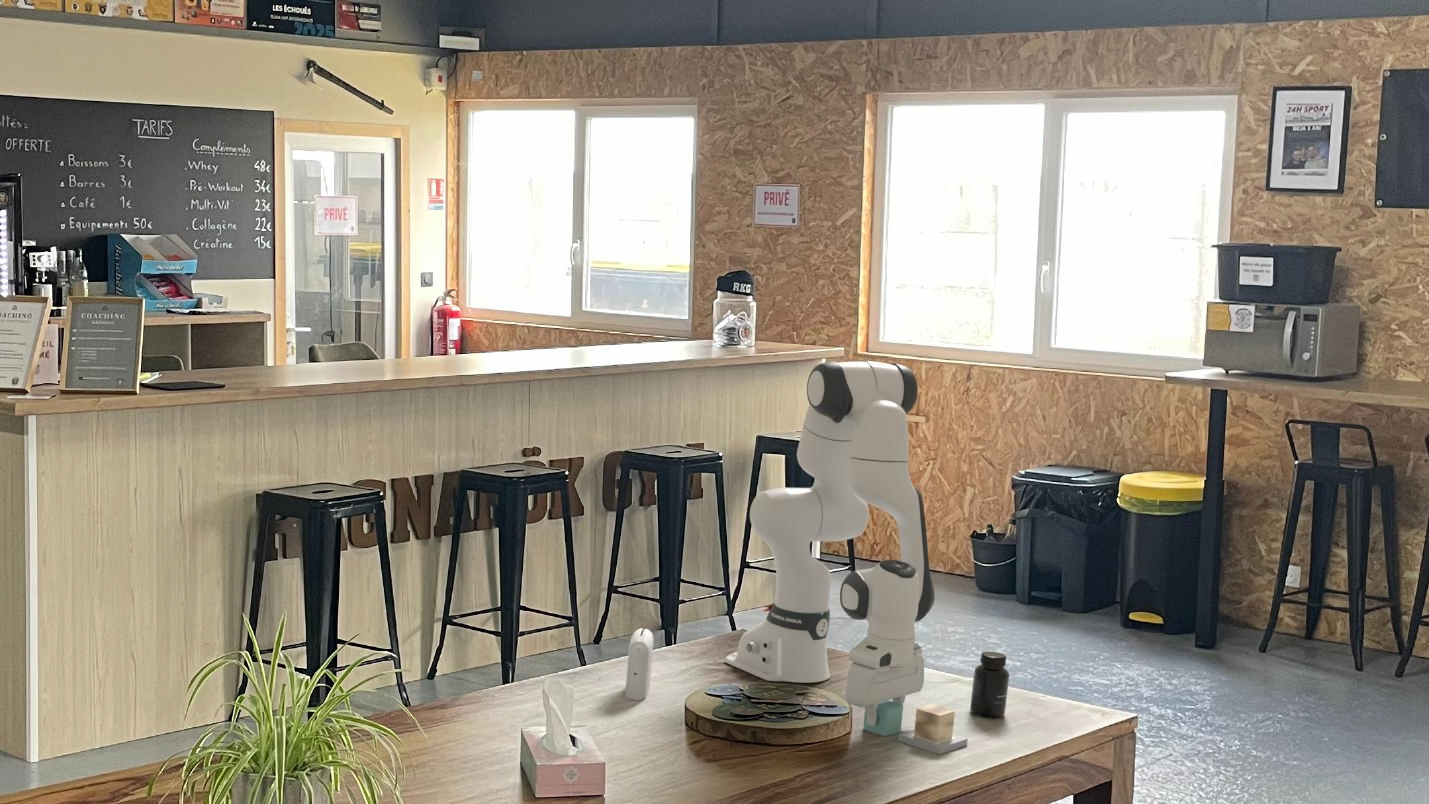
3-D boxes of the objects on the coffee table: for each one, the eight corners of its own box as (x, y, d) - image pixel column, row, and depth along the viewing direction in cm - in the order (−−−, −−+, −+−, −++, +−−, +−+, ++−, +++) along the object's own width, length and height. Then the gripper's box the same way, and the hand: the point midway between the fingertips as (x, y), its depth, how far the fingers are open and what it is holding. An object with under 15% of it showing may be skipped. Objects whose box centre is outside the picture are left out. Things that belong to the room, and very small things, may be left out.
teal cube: (863, 728, 295) (865, 702, 294) (878, 724, 298) (881, 698, 298) (885, 736, 291) (887, 709, 291) (900, 731, 295) (903, 705, 295)
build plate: (898, 740, 289) (898, 734, 289) (926, 731, 296) (926, 725, 296) (939, 754, 284) (940, 747, 283) (966, 745, 290) (967, 738, 290)
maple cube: (914, 734, 290) (916, 708, 289) (929, 730, 293) (932, 703, 293) (936, 742, 286) (939, 715, 286) (952, 737, 290) (954, 711, 289)
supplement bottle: (1004, 721, 307) (1010, 661, 306) (969, 716, 308) (975, 656, 307) (1005, 711, 314) (1011, 652, 313) (970, 706, 315) (976, 647, 314)
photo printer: (645, 701, 300) (651, 638, 299) (623, 699, 300) (628, 636, 299) (651, 686, 310) (656, 625, 309) (629, 684, 310) (634, 622, 309)
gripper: (908, 637, 303) (901, 707, 305) (843, 652, 288) (836, 726, 289) (935, 645, 299) (928, 716, 300) (871, 661, 284) (864, 736, 285)
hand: (882, 721), depth 295 cm, fingers closed on teal cube, 5 cm apart
